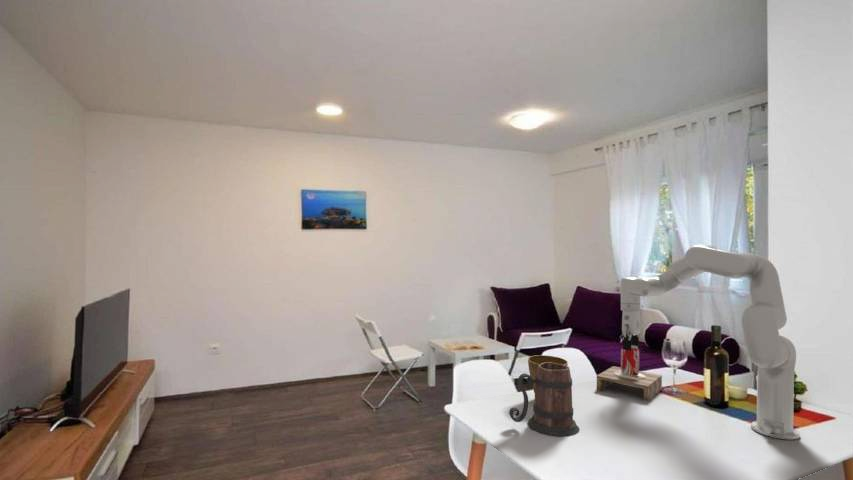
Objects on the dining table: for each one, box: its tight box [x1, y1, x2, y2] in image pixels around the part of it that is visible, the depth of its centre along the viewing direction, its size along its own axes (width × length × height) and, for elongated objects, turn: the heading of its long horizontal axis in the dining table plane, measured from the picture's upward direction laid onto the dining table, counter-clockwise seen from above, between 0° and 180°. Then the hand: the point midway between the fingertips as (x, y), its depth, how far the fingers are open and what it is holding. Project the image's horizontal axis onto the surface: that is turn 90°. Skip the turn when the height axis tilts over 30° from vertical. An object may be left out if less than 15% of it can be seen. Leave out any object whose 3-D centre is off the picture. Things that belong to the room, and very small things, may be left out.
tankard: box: [508, 362, 581, 438], centre depth 150 cm, size 24×17×20 cm
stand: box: [596, 365, 663, 402], centre depth 189 cm, size 20×20×6 cm
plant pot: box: [527, 354, 569, 394], centre depth 174 cm, size 15×15×16 cm
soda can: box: [620, 345, 640, 376], centre depth 189 cm, size 7×7×12 cm
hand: (630, 347), depth 189 cm, fingers open, 9 cm apart
